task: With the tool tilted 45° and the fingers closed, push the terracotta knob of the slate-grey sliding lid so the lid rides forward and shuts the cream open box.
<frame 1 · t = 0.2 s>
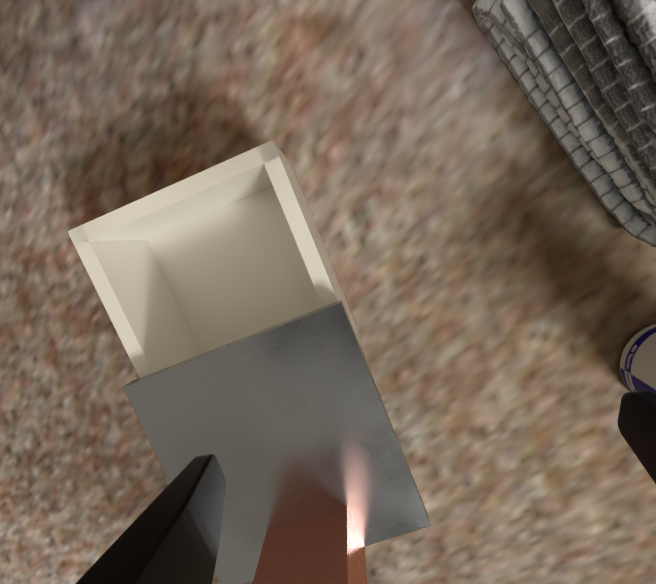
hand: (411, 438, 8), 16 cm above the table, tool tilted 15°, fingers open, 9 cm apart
cream open box: (250, 287, 24), on the table
lid: (266, 494, 15), point 10 cm above the table, slide at -8.0 cm
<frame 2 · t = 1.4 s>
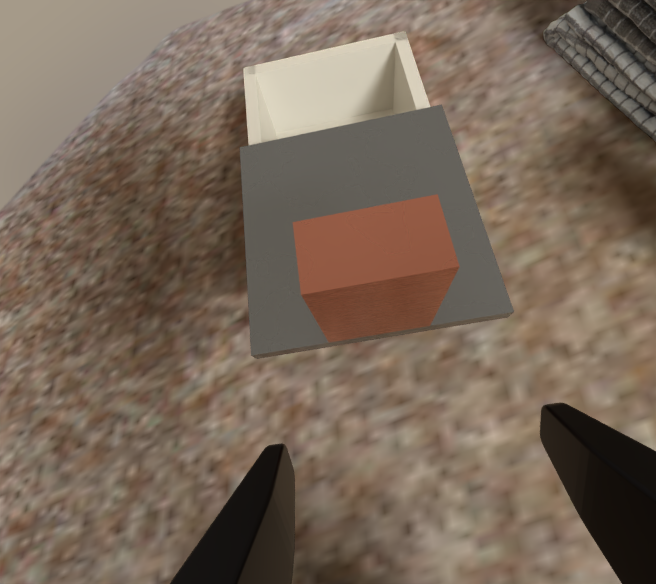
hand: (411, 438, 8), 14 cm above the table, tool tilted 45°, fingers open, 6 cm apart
cream open box: (344, 179, 27), on the table
lid: (352, 183, 15), point 10 cm above the table, slide at -8.0 cm
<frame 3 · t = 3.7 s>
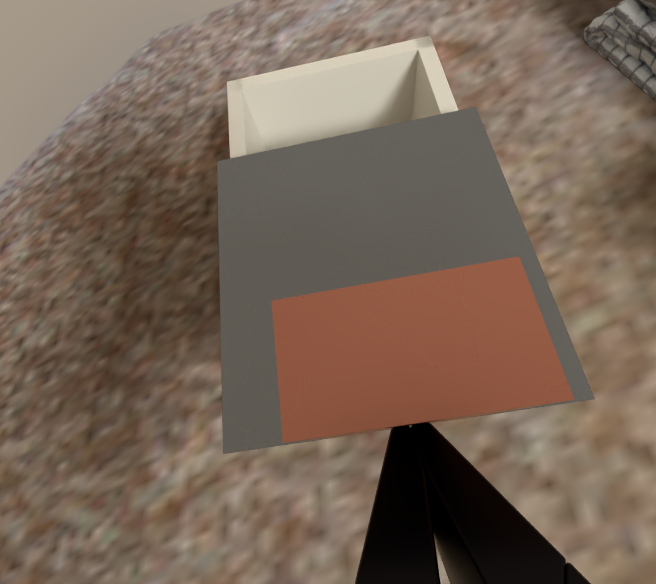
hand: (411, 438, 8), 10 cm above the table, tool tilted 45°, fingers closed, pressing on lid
cream open box: (352, 216, 22), on the table
lid: (364, 216, 11), point 10 cm above the table, slide at -6.5 cm, touching gripper
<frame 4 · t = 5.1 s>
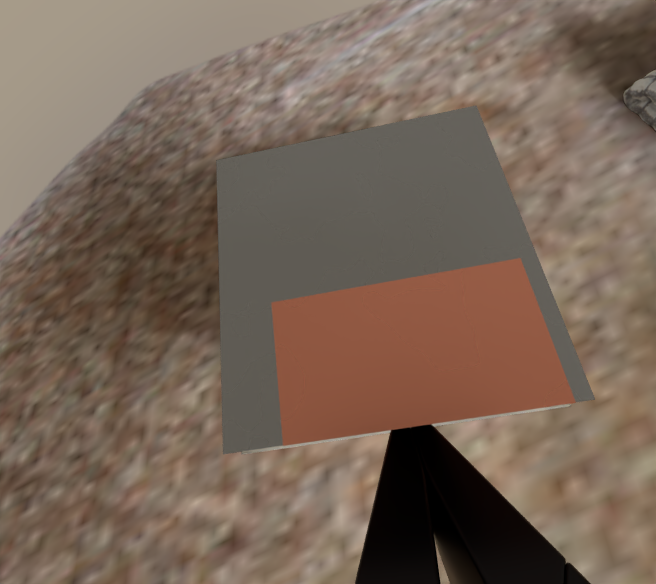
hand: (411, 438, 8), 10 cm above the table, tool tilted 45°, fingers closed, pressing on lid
cream open box: (371, 315, 20), on the table
lid: (364, 216, 11), point 10 cm above the table, slide at 0.1 cm, touching gripper
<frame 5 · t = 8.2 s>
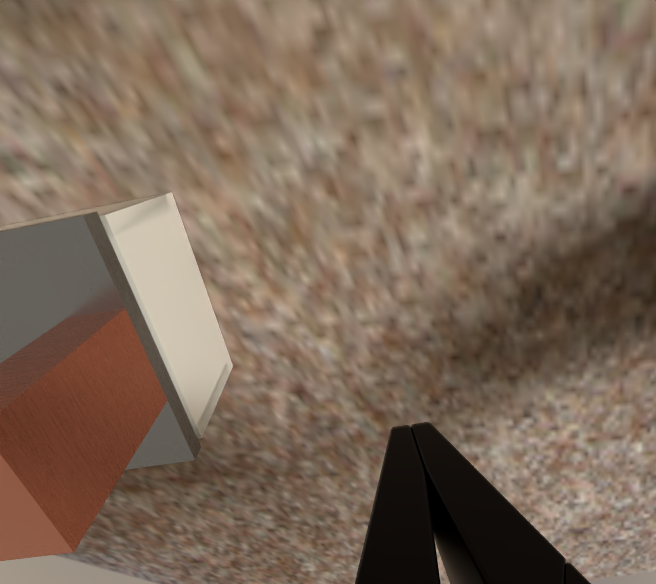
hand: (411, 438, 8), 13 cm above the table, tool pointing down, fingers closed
cream open box: (108, 305, 21), on the table
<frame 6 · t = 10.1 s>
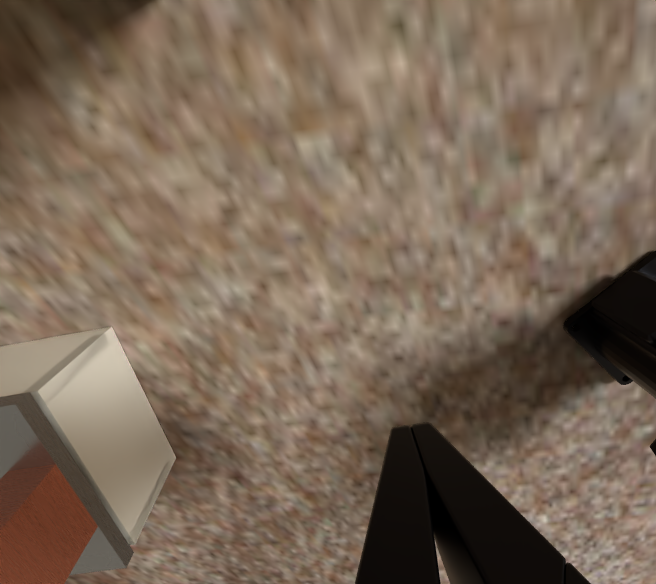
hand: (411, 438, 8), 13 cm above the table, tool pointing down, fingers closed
cream open box: (63, 411, 24), on the table
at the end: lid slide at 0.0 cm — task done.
